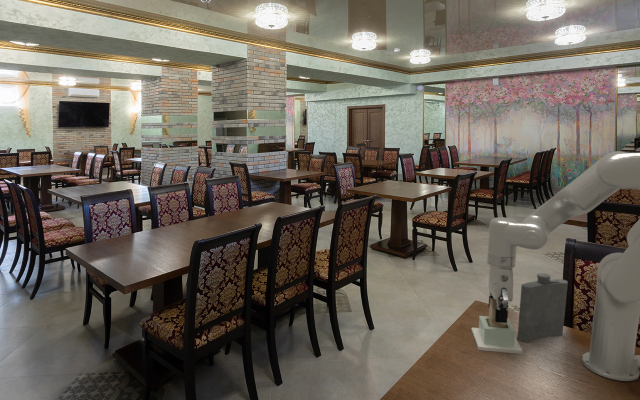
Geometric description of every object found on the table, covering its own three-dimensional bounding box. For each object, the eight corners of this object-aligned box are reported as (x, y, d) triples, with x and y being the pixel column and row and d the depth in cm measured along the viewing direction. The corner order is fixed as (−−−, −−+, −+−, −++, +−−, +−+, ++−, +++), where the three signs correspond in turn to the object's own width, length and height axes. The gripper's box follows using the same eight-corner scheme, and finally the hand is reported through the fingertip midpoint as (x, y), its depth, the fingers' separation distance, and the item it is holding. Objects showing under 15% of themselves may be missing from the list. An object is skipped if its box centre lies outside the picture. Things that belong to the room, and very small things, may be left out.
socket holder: (511, 333, 128) (512, 315, 127) (522, 354, 116) (524, 334, 115) (471, 330, 130) (472, 312, 129) (478, 350, 118) (479, 330, 117)
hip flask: (522, 343, 122) (527, 280, 119) (512, 336, 126) (517, 275, 123) (564, 335, 126) (571, 274, 123) (554, 329, 130) (560, 270, 127)
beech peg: (501, 335, 124) (504, 299, 122) (504, 342, 121) (507, 304, 118) (487, 334, 125) (490, 298, 123) (489, 341, 121) (492, 303, 119)
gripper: (523, 270, 109) (518, 330, 112) (507, 251, 126) (503, 304, 129) (494, 268, 111) (490, 327, 114) (482, 250, 128) (478, 302, 131)
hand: (497, 314), depth 122 cm, fingers open, 8 cm apart
